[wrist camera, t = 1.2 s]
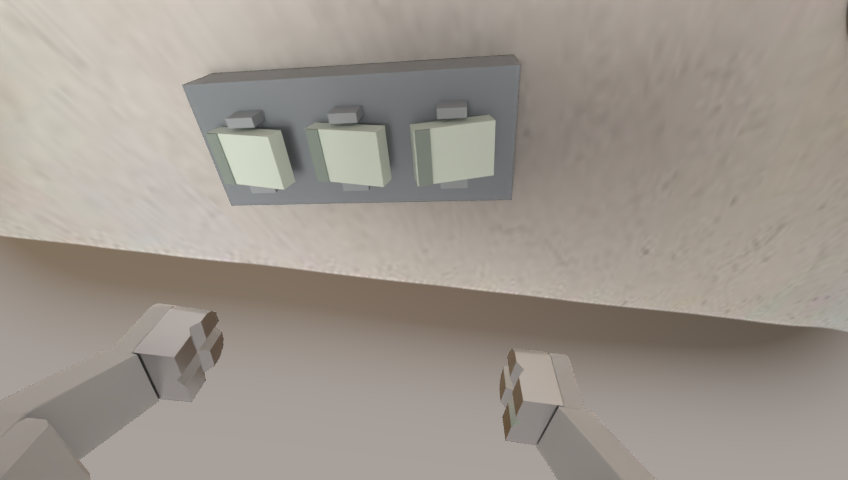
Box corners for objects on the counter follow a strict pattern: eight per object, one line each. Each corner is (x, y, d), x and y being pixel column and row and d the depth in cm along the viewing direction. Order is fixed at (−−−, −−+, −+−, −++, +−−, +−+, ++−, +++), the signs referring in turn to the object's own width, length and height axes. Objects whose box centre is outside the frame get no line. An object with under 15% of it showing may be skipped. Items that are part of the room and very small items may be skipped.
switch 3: (489, 114, 26) (496, 120, 25) (487, 167, 29) (494, 176, 27) (409, 124, 26) (413, 131, 25) (414, 178, 28) (418, 187, 27)
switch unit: (513, 54, 28) (524, 70, 23) (506, 181, 34) (513, 214, 29) (212, 73, 31) (166, 91, 26) (253, 187, 37) (221, 219, 32)
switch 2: (384, 125, 26) (374, 133, 25) (391, 178, 28) (382, 188, 27) (315, 122, 28) (303, 129, 27) (327, 172, 30) (316, 181, 29)
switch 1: (280, 130, 27) (266, 137, 26) (295, 181, 29) (283, 190, 28) (220, 126, 29) (204, 133, 28) (238, 175, 31) (224, 183, 30)
